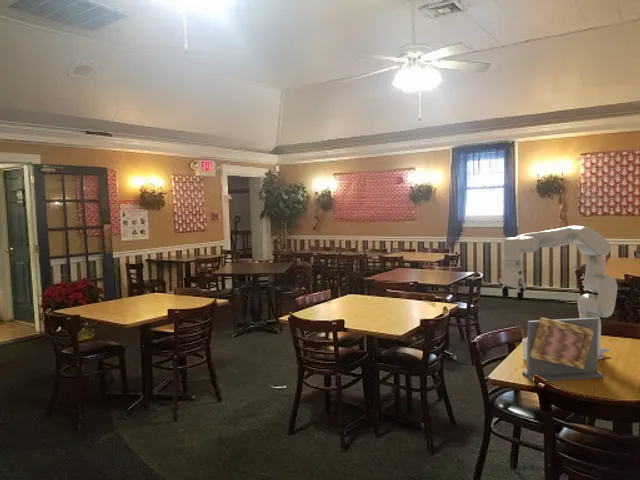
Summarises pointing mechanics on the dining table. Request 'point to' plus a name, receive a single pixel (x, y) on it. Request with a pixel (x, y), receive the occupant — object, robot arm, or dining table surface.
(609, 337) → the dining table surface
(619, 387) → the dining table surface
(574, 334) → the picture frame
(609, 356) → the dining table surface
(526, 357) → the white cup
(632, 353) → the dining table surface
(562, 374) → the board
